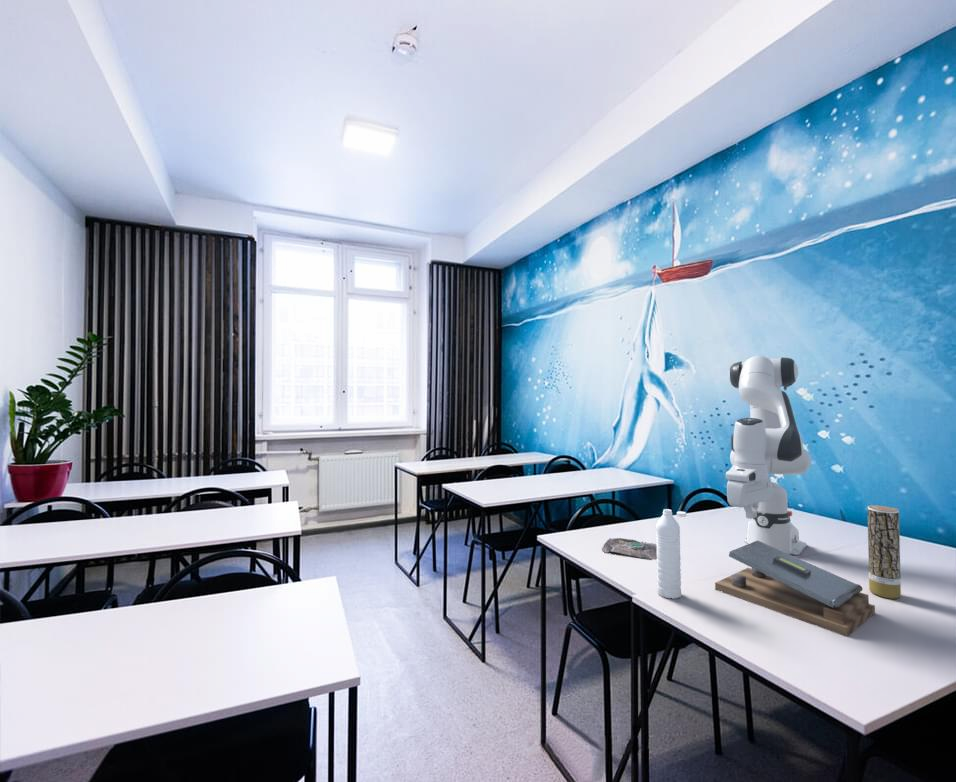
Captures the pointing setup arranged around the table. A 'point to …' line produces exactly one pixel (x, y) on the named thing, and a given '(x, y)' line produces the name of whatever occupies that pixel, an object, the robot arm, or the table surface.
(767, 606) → the leveling base
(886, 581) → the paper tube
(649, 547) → the terrain model
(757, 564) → the plate
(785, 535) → the robot arm
